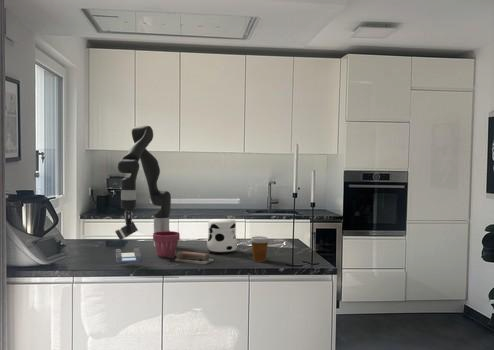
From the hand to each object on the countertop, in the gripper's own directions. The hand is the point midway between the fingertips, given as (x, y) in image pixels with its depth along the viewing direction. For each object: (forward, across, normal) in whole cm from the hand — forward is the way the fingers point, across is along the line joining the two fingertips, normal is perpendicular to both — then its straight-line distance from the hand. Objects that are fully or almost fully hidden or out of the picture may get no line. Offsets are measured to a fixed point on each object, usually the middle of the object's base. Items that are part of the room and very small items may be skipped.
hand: (128, 232), depth 241 cm
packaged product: (+16, -6, -33) cm, 37 cm away
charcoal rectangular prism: (+1, 0, 0) cm, 1 cm away
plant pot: (+15, +7, -20) cm, 26 cm away
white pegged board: (+15, +6, 0) cm, 16 cm away
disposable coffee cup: (+15, -14, -66) cm, 69 cm away
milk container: (+15, +12, -52) cm, 56 cm away
